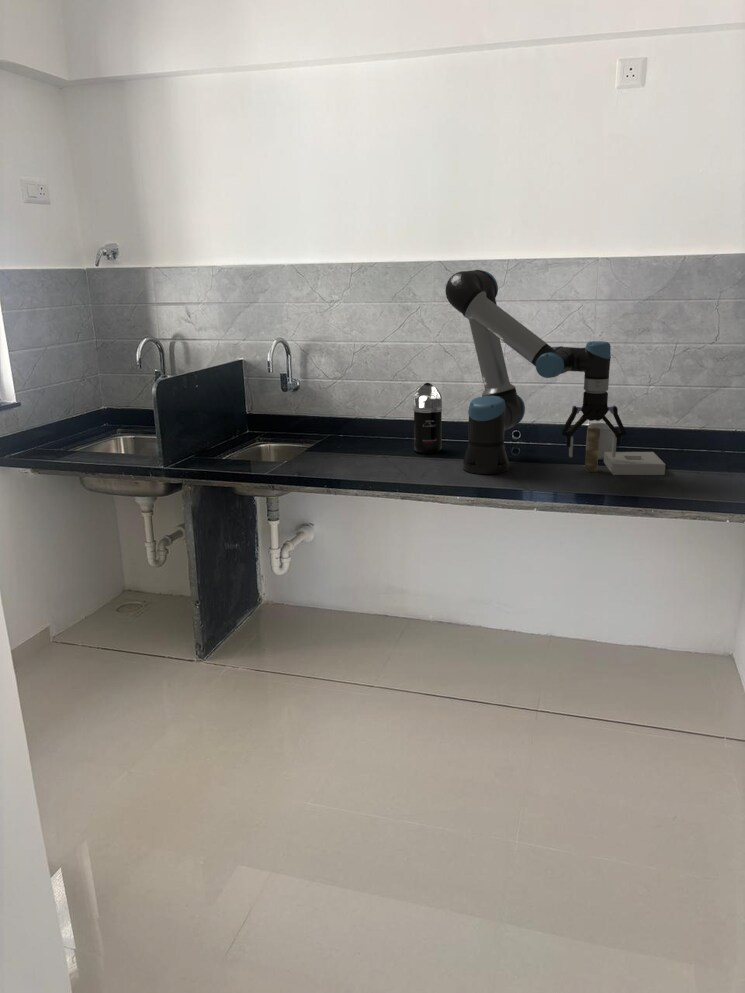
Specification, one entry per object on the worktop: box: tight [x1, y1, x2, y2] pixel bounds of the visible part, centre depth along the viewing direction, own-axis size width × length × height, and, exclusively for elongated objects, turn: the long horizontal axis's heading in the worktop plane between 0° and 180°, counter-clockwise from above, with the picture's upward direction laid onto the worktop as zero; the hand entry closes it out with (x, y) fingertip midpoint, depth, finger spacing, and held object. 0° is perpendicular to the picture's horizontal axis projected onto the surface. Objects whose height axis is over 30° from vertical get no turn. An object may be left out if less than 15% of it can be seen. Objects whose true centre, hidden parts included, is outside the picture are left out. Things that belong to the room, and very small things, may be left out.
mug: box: [587, 422, 616, 461], centre depth 271 cm, size 12×9×11 cm
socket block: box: [603, 451, 666, 476], centre depth 256 cm, size 16×16×4 cm
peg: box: [584, 427, 600, 473], centre depth 253 cm, size 4×4×14 cm
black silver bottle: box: [413, 382, 443, 454], centre depth 281 cm, size 10×10×25 cm
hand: (591, 456), depth 253 cm, fingers open, 13 cm apart
